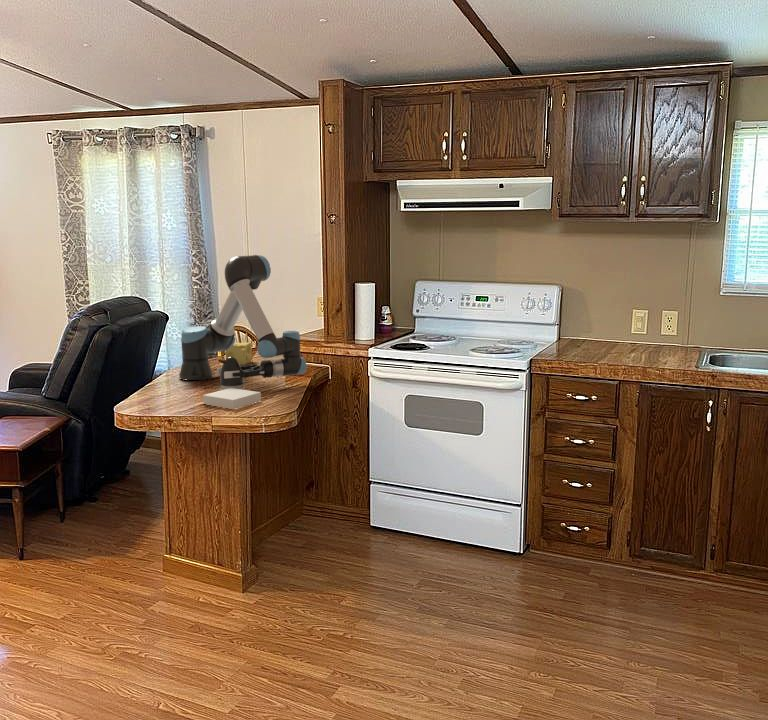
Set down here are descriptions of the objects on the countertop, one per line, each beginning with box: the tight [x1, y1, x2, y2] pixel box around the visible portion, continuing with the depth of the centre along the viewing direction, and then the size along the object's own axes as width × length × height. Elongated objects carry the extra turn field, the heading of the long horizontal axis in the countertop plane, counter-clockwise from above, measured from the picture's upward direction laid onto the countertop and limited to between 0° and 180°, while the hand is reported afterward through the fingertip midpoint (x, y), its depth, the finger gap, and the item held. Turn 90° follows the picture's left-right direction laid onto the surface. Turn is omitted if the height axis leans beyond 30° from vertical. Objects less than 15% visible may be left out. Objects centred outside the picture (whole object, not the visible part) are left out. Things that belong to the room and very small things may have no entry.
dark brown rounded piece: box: [218, 357, 245, 390], centre depth 340 cm, size 10×10×15 cm
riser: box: [202, 388, 262, 410], centre depth 320 cm, size 16×16×4 cm
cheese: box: [225, 342, 253, 365], centre depth 408 cm, size 10×11×10 cm
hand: (220, 373), depth 338 cm, fingers closed on dark brown rounded piece, 9 cm apart
